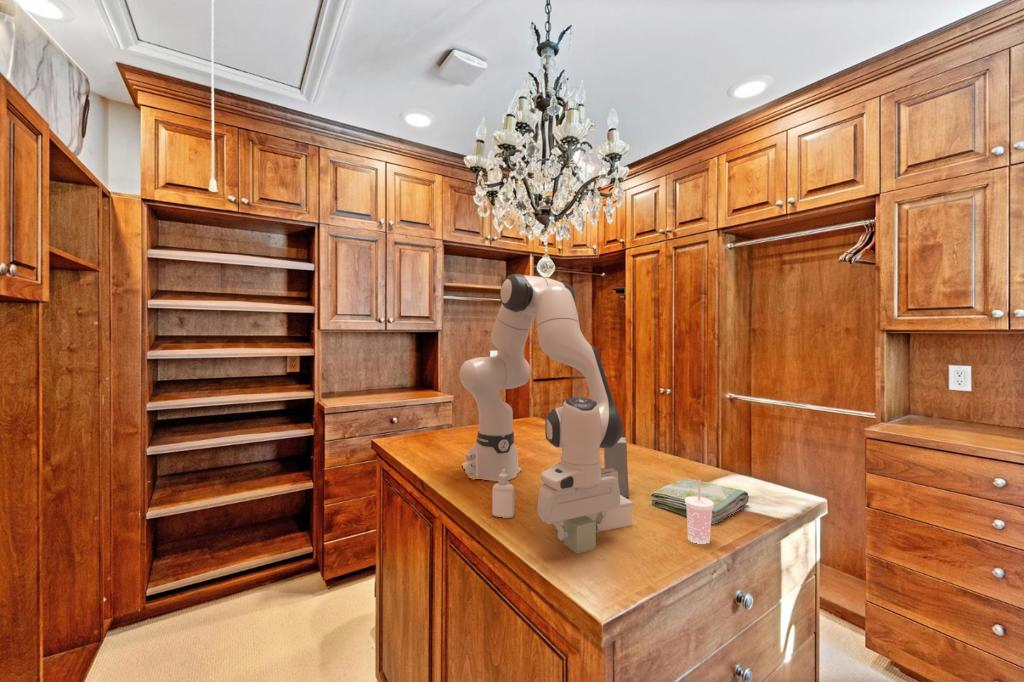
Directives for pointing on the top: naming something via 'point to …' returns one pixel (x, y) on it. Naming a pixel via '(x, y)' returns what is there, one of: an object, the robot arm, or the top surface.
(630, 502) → the storage box
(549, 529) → the top surface
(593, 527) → the green block
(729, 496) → the towel
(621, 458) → the skincare box
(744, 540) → the top surface
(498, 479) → the robot arm
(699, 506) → the beverage cup
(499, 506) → the eye dropper bottle
